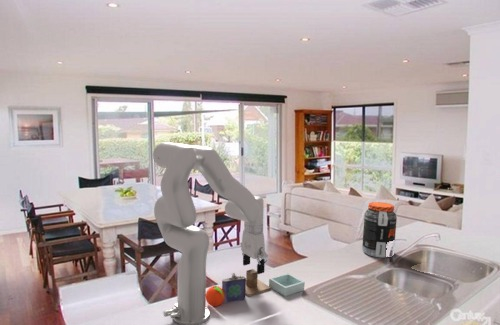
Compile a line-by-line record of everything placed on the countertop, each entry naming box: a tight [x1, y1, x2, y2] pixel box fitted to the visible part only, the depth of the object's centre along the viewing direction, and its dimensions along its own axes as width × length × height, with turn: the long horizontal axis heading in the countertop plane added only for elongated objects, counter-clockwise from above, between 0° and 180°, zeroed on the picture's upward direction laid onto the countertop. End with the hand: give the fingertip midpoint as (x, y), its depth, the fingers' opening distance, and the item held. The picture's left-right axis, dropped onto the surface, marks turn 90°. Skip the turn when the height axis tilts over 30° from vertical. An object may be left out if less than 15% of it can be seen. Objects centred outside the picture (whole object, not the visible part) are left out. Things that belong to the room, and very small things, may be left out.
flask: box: [221, 272, 246, 304], centre depth 140 cm, size 9×3×11 cm, turn 112°
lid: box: [245, 268, 272, 297], centre depth 151 cm, size 11×11×7 cm
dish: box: [268, 273, 305, 297], centre depth 151 cm, size 10×10×4 cm
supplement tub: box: [361, 201, 398, 259], centre depth 194 cm, size 16×16×26 cm
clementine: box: [206, 285, 225, 307], centre depth 137 cm, size 8×7×7 cm
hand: (253, 268), depth 151 cm, fingers open, 9 cm apart
